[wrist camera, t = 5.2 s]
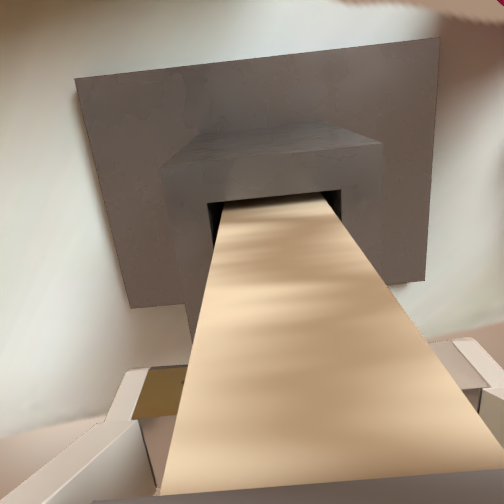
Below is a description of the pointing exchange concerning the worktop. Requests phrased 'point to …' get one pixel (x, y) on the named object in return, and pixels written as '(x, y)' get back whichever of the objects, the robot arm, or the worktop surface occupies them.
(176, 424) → the column
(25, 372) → the worktop surface
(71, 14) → the worktop surface
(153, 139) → the stand
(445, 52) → the worktop surface
